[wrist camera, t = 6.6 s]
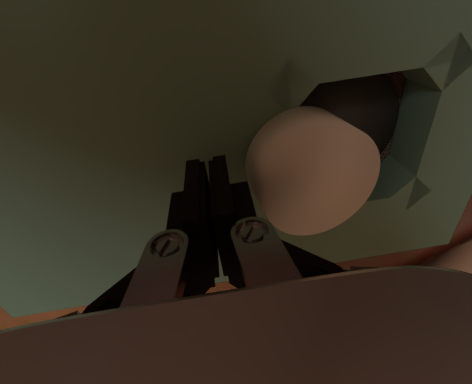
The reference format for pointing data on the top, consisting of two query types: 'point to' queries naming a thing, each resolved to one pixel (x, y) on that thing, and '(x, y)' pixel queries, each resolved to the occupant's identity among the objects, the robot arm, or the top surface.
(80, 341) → the robot arm
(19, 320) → the top surface
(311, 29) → the board
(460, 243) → the top surface
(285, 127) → the pink rounded pebble
